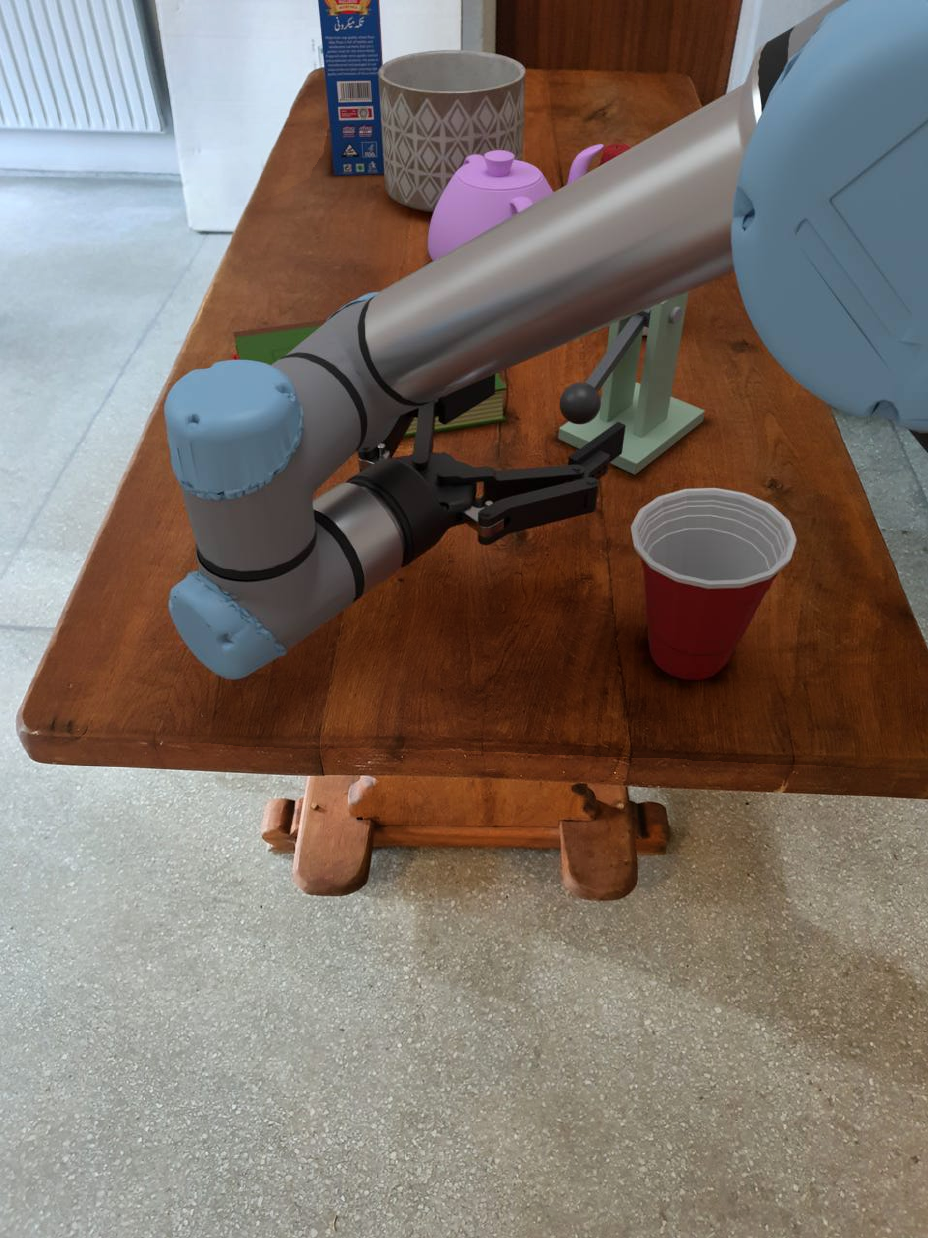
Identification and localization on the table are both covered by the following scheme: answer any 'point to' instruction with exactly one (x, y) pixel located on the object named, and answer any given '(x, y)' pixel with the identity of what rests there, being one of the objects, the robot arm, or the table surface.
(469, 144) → the planter
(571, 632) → the table surface
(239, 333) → the book
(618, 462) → the switch bracket
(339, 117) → the pasta box
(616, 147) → the apple
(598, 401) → the switch lever
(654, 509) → the plastic cup
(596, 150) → the teapot
